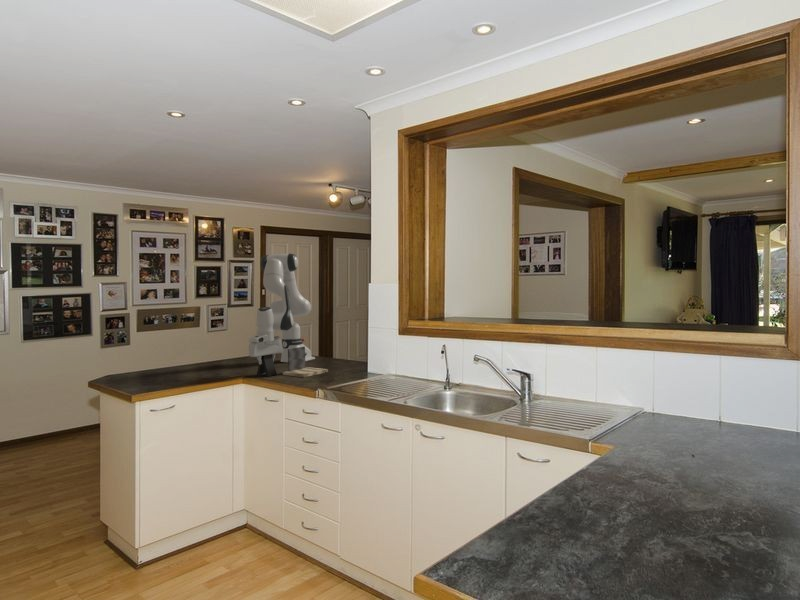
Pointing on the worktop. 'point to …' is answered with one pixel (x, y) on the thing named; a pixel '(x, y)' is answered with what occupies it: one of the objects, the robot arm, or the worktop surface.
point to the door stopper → (266, 366)
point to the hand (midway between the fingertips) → (266, 363)
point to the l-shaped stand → (300, 364)
